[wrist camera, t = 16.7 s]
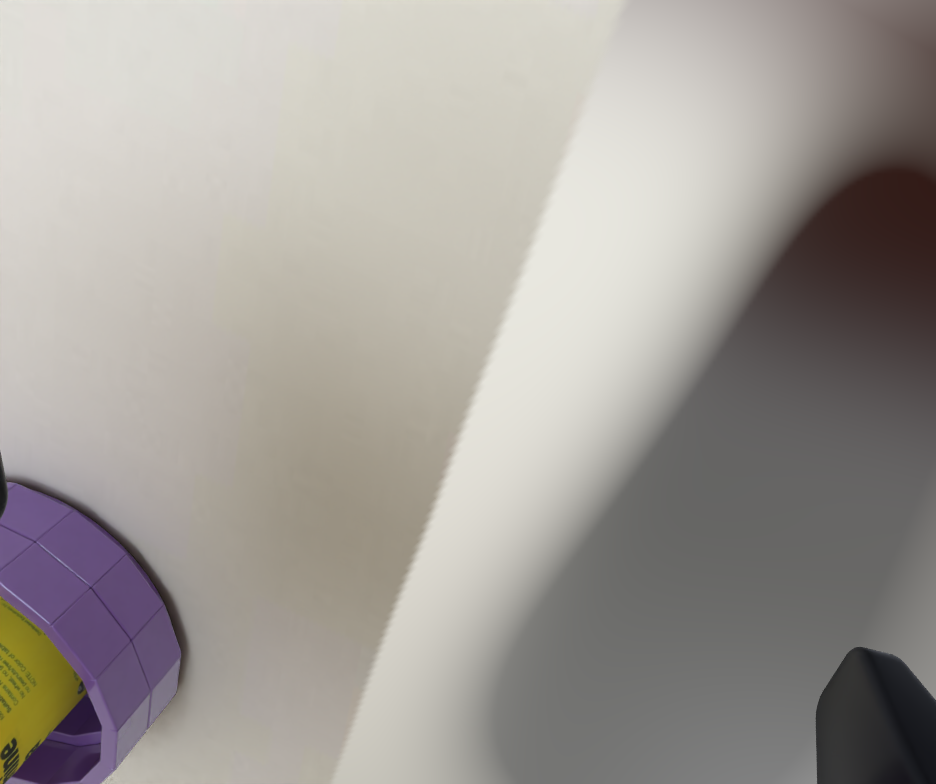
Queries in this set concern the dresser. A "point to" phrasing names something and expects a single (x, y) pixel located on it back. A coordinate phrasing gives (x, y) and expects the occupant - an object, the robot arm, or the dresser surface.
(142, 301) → the dresser surface
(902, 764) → the robot arm
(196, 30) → the dresser surface
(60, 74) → the dresser surface
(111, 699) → the purple bowl
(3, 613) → the pill bottle
